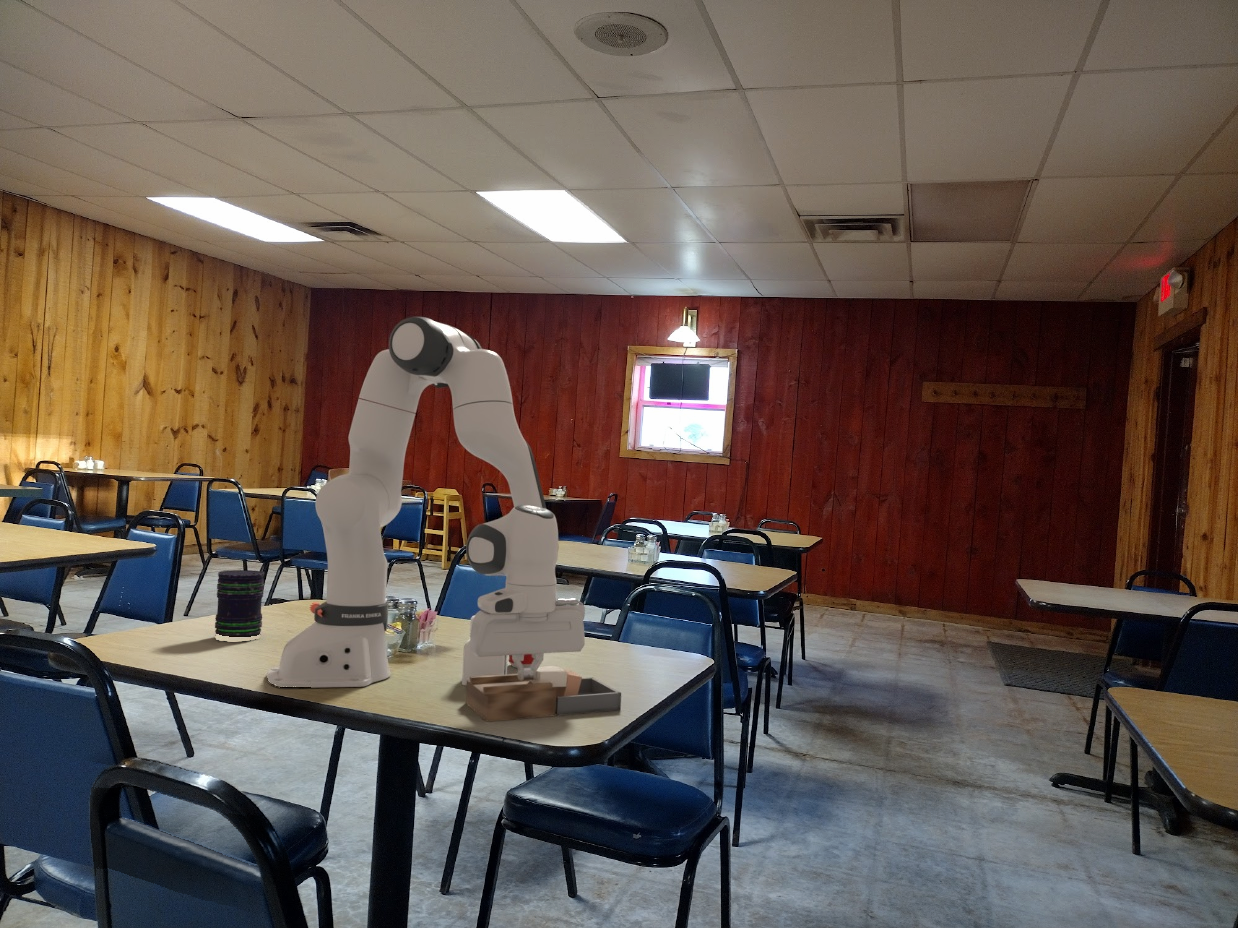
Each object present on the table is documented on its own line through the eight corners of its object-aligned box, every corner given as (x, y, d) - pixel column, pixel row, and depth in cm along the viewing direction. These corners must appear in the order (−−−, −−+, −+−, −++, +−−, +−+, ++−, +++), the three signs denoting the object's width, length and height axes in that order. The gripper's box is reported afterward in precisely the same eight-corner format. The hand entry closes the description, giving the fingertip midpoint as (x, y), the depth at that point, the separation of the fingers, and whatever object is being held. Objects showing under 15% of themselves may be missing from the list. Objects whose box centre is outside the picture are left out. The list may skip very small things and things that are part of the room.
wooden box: (486, 721, 144) (488, 690, 144) (465, 702, 155) (466, 674, 155) (555, 715, 150) (556, 685, 150) (529, 697, 160) (531, 670, 160)
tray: (557, 715, 150) (558, 697, 150) (531, 697, 161) (532, 681, 161) (620, 709, 155) (621, 692, 155) (591, 693, 166) (592, 677, 166)
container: (506, 677, 175) (509, 612, 175) (502, 687, 167) (505, 618, 167) (467, 676, 175) (470, 610, 175) (461, 685, 167) (464, 616, 167)
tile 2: (569, 674, 154) (582, 677, 155) (558, 668, 159) (571, 670, 160) (562, 703, 154) (574, 705, 155) (551, 695, 158) (564, 698, 159)
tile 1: (539, 687, 152) (540, 672, 152) (529, 680, 156) (530, 666, 157) (566, 686, 154) (567, 672, 154) (555, 679, 159) (556, 665, 159)
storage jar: (206, 641, 196) (209, 574, 196) (225, 633, 206) (228, 569, 206) (251, 643, 196) (254, 576, 197) (268, 635, 206) (271, 571, 206)
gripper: (578, 595, 161) (574, 671, 161) (469, 598, 152) (465, 678, 152) (592, 600, 155) (588, 679, 155) (479, 603, 146) (476, 687, 146)
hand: (526, 679), depth 154 cm, fingers closed
